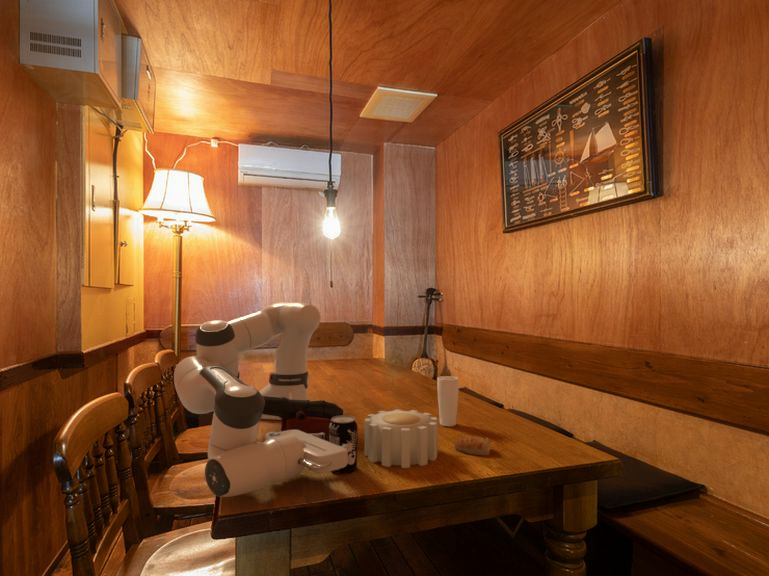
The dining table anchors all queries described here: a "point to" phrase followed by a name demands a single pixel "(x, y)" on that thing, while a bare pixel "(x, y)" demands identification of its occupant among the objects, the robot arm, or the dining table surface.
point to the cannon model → (302, 414)
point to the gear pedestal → (401, 438)
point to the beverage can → (345, 438)
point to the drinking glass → (447, 399)
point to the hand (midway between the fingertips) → (337, 441)
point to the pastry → (474, 446)
